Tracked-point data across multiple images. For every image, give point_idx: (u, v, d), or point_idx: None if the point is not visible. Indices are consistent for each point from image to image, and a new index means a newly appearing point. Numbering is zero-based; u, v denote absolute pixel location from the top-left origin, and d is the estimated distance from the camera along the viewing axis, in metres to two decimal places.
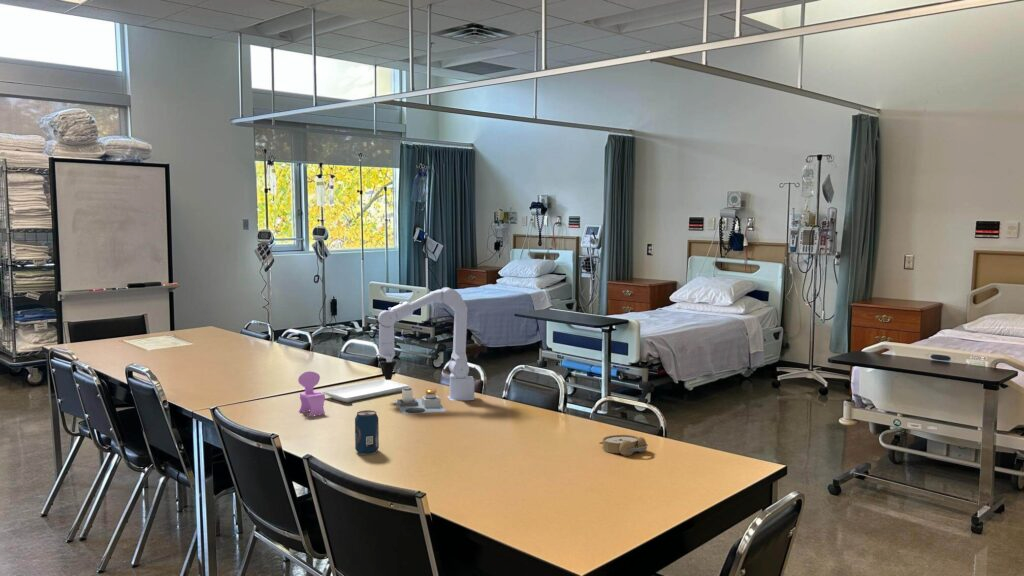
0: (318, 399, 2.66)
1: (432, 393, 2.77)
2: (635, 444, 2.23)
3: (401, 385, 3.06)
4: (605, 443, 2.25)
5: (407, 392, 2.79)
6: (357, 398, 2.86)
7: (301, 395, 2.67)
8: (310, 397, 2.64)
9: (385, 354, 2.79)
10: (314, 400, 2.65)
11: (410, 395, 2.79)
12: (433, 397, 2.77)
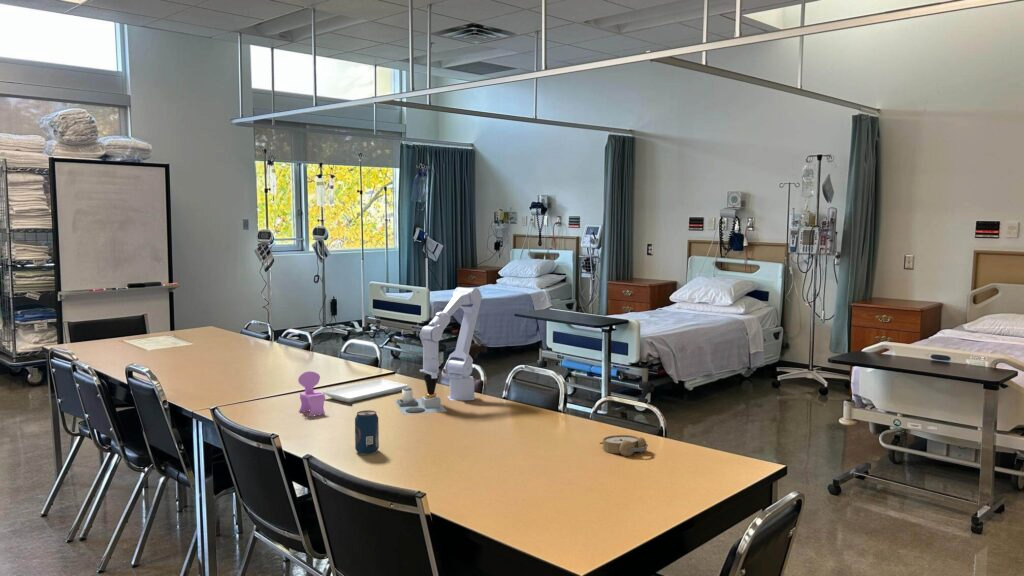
0: (318, 399, 2.66)
1: (432, 396, 2.77)
2: (635, 444, 2.23)
3: (400, 385, 3.07)
4: (605, 443, 2.25)
5: (407, 392, 2.79)
6: (360, 398, 2.86)
7: (301, 395, 2.67)
8: (310, 397, 2.64)
9: (429, 370, 2.75)
10: (314, 400, 2.65)
11: (410, 395, 2.79)
12: None
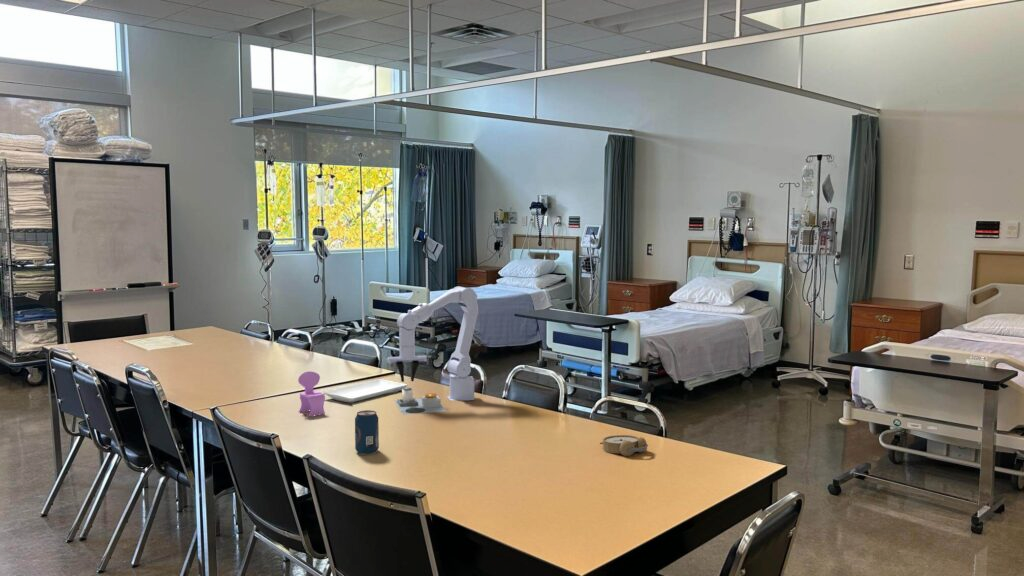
0: (318, 399, 2.66)
1: (432, 397, 2.77)
2: (635, 444, 2.23)
3: (399, 384, 3.07)
4: (605, 443, 2.24)
5: (407, 392, 2.79)
6: (361, 398, 2.86)
7: (301, 395, 2.67)
8: (310, 397, 2.64)
9: (399, 356, 2.80)
10: (314, 400, 2.65)
11: (410, 395, 2.79)
12: None
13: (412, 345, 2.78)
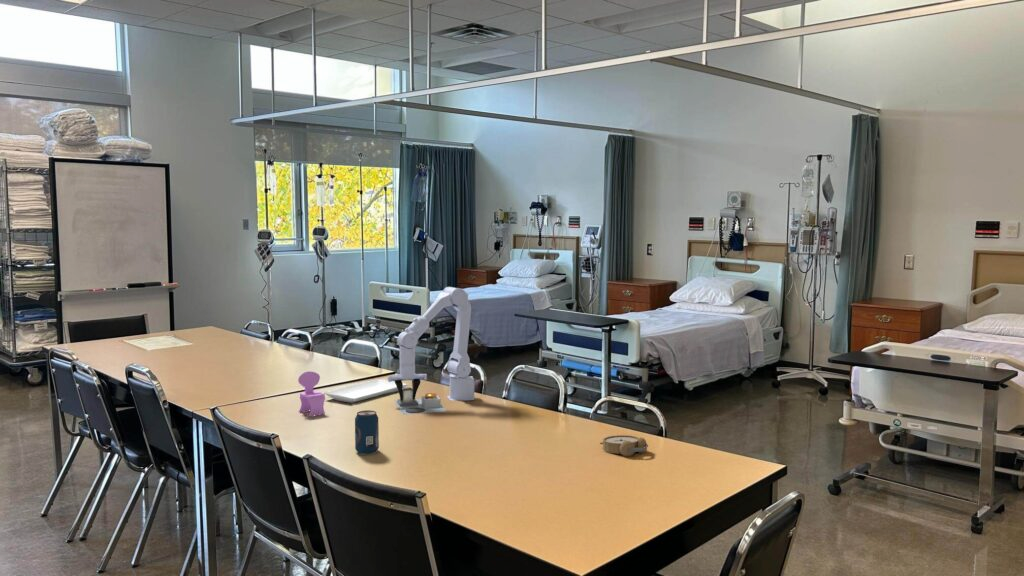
0: (318, 399, 2.66)
1: (432, 397, 2.77)
2: (635, 444, 2.23)
3: None
4: (605, 443, 2.24)
5: (407, 392, 2.79)
6: (363, 398, 2.86)
7: (301, 395, 2.67)
8: (310, 397, 2.64)
9: None
10: (314, 400, 2.65)
11: (410, 395, 2.79)
12: None
13: (412, 364, 2.78)
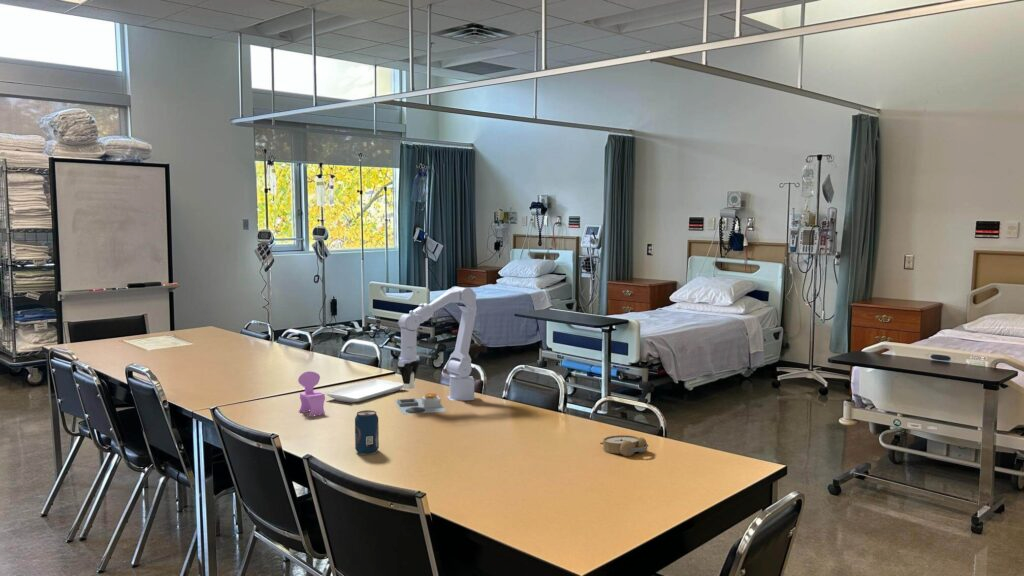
0: (318, 399, 2.66)
1: (432, 397, 2.77)
2: (636, 444, 2.23)
3: (397, 384, 3.08)
4: (606, 443, 2.24)
5: (413, 375, 2.77)
6: (365, 398, 2.86)
7: (301, 395, 2.67)
8: (310, 397, 2.64)
9: (403, 358, 2.75)
10: (314, 400, 2.65)
11: None
12: None
13: (414, 346, 2.75)
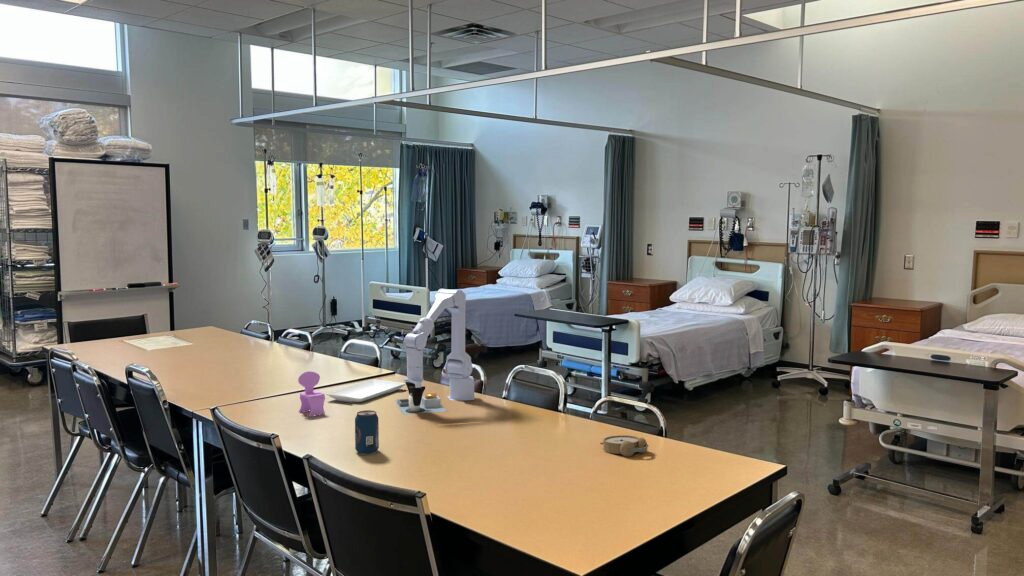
0: (318, 399, 2.66)
1: (432, 397, 2.77)
2: (636, 445, 2.22)
3: (396, 383, 3.09)
4: (606, 443, 2.24)
5: None
6: (368, 398, 2.86)
7: (301, 395, 2.67)
8: (310, 397, 2.64)
9: (413, 379, 2.67)
10: (314, 400, 2.65)
11: None
12: None
13: (422, 365, 2.69)
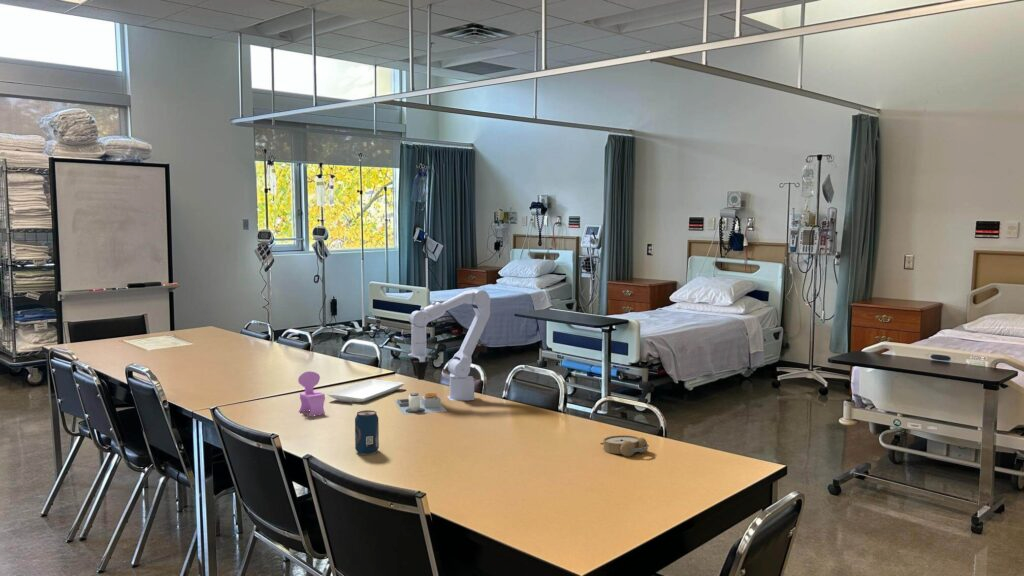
0: (318, 399, 2.66)
1: (432, 397, 2.77)
2: (636, 444, 2.22)
3: (395, 383, 3.10)
4: (606, 444, 2.24)
5: (419, 396, 2.70)
6: (369, 398, 2.86)
7: (301, 395, 2.67)
8: (310, 397, 2.64)
9: (418, 354, 2.81)
10: (314, 400, 2.65)
11: None
12: None
13: (423, 342, 2.82)
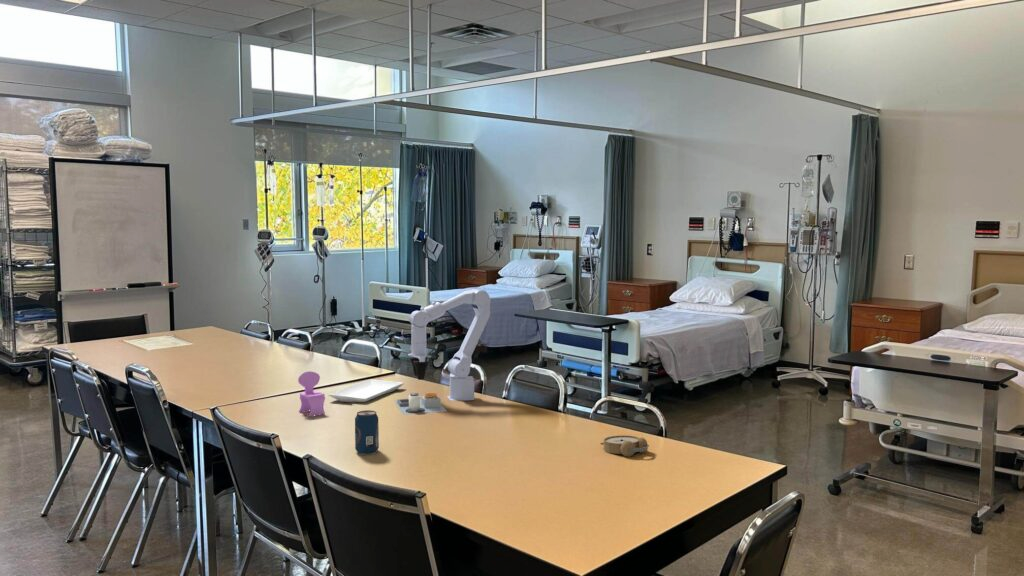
0: (318, 399, 2.66)
1: (432, 397, 2.77)
2: (636, 444, 2.22)
3: (394, 383, 3.10)
4: (606, 444, 2.24)
5: (419, 396, 2.70)
6: (371, 398, 2.86)
7: (301, 395, 2.67)
8: (310, 397, 2.64)
9: (418, 354, 2.81)
10: (314, 400, 2.65)
11: None
12: None
13: (423, 342, 2.82)
